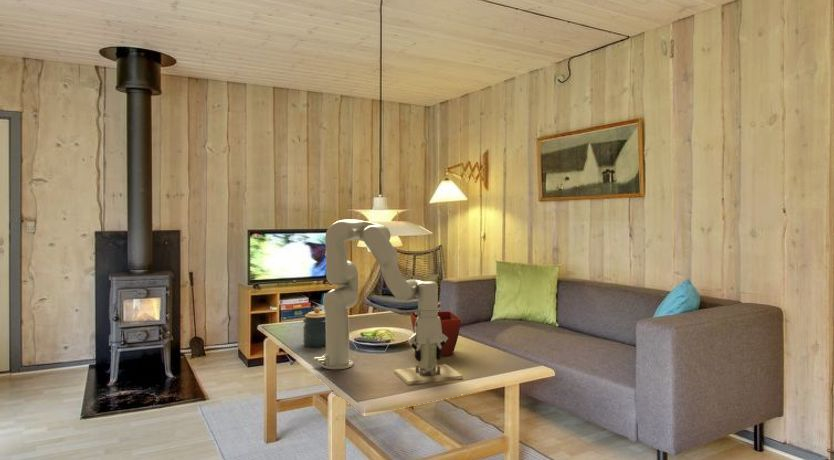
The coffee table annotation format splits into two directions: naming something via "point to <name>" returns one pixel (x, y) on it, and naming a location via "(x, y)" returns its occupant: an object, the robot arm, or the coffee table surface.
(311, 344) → the canister
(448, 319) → the plant pot
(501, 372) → the coffee table surface
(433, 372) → the pin tray
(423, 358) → the skincare box
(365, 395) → the coffee table surface
